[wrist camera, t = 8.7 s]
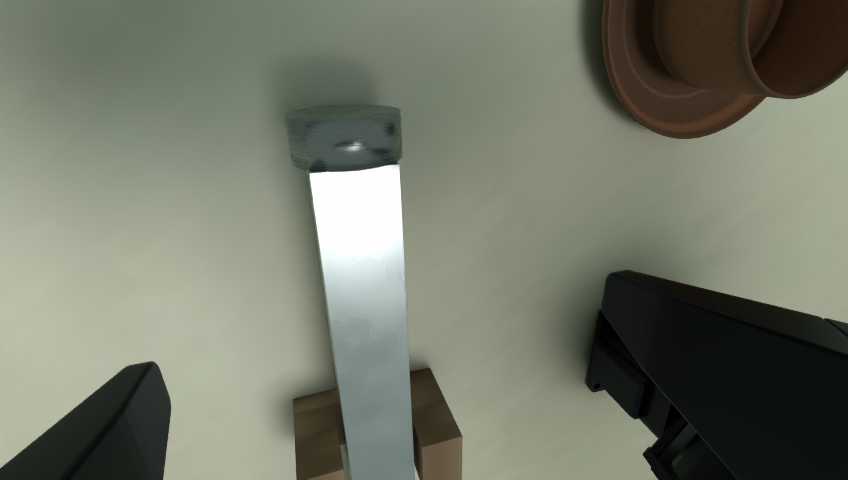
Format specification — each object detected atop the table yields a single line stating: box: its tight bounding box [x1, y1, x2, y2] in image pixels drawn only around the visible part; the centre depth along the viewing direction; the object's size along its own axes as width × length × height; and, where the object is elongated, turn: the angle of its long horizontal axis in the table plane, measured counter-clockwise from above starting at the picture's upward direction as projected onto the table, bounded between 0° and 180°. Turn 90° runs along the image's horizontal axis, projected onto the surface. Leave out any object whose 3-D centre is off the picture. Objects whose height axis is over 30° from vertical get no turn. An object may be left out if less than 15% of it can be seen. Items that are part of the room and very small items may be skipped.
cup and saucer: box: [602, 0, 848, 139], centre depth 18 cm, size 12×12×6 cm
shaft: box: [285, 105, 415, 480], centre depth 22 cm, size 4×34×4 cm, turn 2°
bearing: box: [293, 368, 462, 480], centre depth 22 cm, size 8×3×5 cm, turn 92°
